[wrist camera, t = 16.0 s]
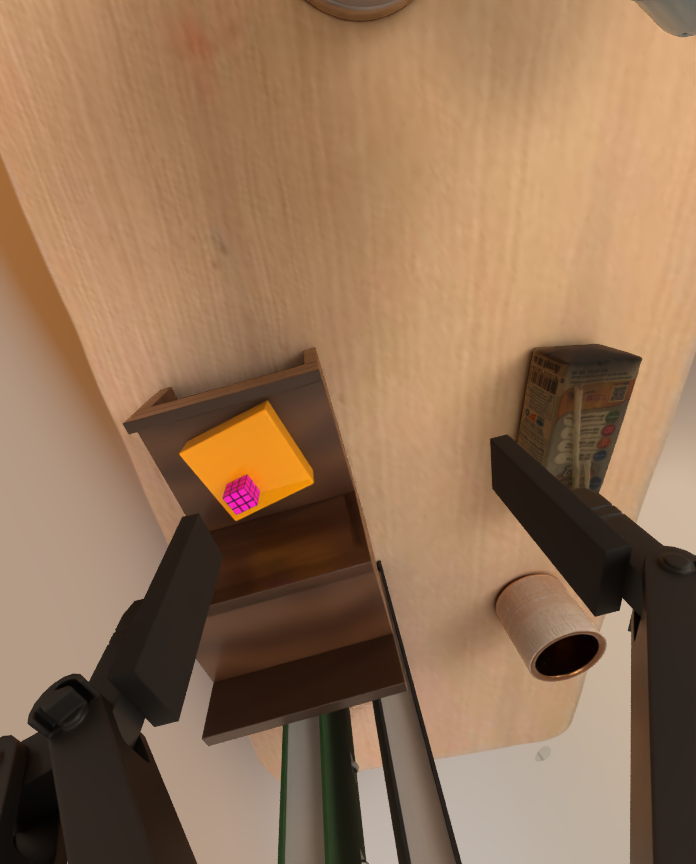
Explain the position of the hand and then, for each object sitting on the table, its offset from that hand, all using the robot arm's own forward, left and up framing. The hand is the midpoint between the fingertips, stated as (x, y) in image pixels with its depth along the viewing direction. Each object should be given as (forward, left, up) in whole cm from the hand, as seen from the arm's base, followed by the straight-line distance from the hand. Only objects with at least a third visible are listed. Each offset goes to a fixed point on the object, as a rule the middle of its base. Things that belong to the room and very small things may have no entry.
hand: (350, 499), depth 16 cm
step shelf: (+9, -8, -23) cm, 26 cm away
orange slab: (+4, -8, -16) cm, 18 cm away
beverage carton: (+14, +24, -23) cm, 36 cm away
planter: (+44, +21, -23) cm, 54 cm away
